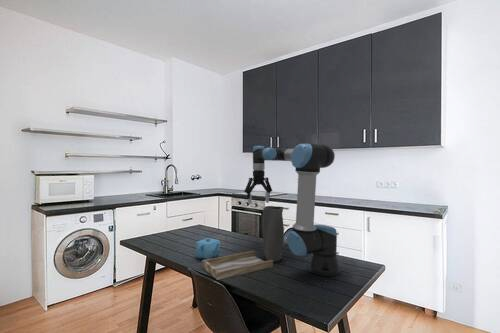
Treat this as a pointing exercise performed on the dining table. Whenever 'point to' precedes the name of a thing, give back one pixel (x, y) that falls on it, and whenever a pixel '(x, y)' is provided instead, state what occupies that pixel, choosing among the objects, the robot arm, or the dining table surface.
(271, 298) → the dining table surface
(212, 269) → the tray
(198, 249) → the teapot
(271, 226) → the vase
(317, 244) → the robot arm
